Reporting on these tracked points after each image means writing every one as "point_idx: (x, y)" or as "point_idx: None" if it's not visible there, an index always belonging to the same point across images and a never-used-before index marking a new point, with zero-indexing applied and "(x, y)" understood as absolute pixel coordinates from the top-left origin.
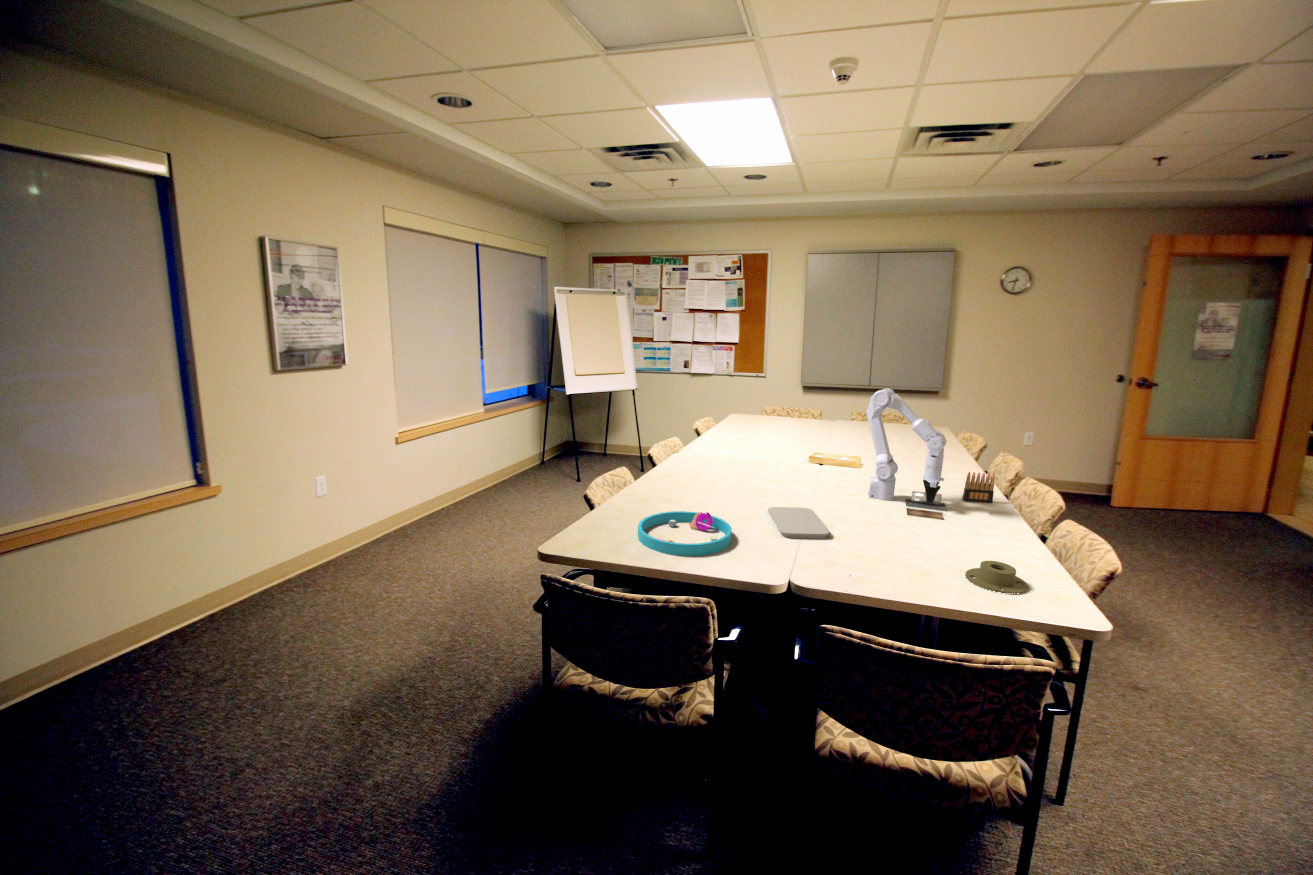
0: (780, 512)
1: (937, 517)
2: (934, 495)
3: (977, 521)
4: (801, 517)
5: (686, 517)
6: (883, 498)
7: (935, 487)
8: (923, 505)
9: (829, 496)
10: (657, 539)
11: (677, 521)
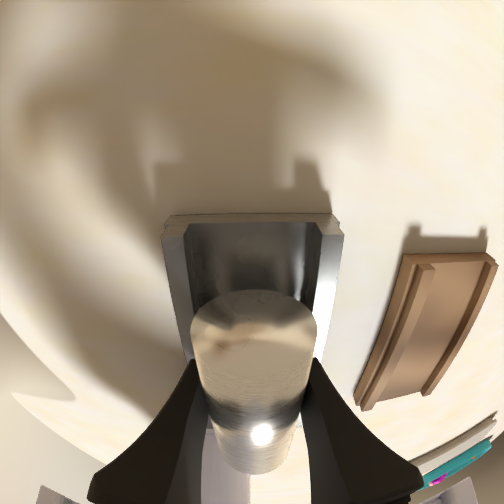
0: None
1: (485, 293)
2: (348, 415)
3: (422, 25)
4: (434, 462)
5: None
6: None
7: (466, 478)
8: None
9: (256, 485)
10: (473, 460)
11: None
